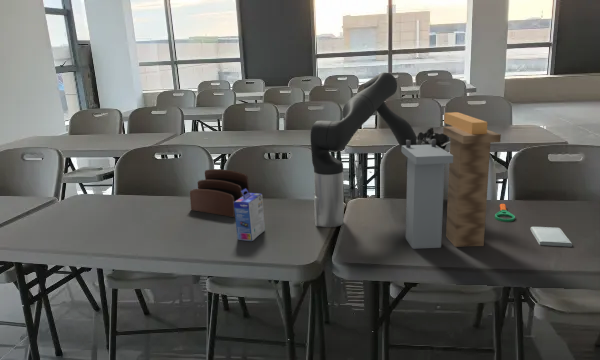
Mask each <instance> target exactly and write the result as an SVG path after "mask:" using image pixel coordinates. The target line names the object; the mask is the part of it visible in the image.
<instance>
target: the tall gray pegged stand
mask: <svg viewBox="0 0 600 360" xmlns="http://www.w3.org/2000/svg"><path fill="white" fill-rule="evenodd" d="M401 153H402V154H403V155H404V156H405V157H406V158H408V160H407V159H406V160H407V168H406V170H407V171H406V205H405V208H406V209H405V211H406V212H405V240H406V241H407V243H408V244H409V246H410V248H411V249H413V250H414V249H416V250H417V249H440V248H442V235H443V234H442V231H443V212H444V210H443V209H444V186H445V168H446V167H445V165H446V164H449V163H453V155H452V154H450V152H449V151H446V149H445V150H443V149H442V148H440V147H438V146H437V145H436V139H432V143H431V145H411V140H406V145H404V146H402V148H401Z"/></svg>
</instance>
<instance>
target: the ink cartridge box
mask: <svg viewBox="0 0 600 360" xmlns="http://www.w3.org/2000/svg"><path fill="white" fill-rule="evenodd" d="M245 191H246V192H247V194H245V195H244V192H245ZM241 193H242V195H243V196H242V197H241V198H239V199H238V200H236V201H235V202H234V209H235V217H234V218H235V228H236V238H237V240H239V241H247V242H252V241H255V239H257V238H258V237H259V235H261V234H262V233H263V232H265V231H266V229H265V227H266V226H265V216H264V214H265V213H264V203H263V202H264V200H263V193H257V192H250V191H249V192H248V190H247V189H246V188H245V189H244V190H242V191H241Z"/></svg>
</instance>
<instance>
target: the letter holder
mask: <svg viewBox="0 0 600 360" xmlns="http://www.w3.org/2000/svg"><path fill="white" fill-rule="evenodd" d="M249 184H250V183H249V176H248V175H247V174H246V173H243V172H241V171H235V170H229V169H218V168H217V169H216V168H215V169H214V168H213V169H212V168H211V169H206V170H204V179H200V180H199V179H198V181H197V188H192V189H190V191H189V201H190V210H191V211H193V212H194V211H195V212H200V213H207V214H213V215H219V216H225V217H231V218H235V209H234V202H235V201H236V200H238V199H239V198H241V197H242V196H243V195H242V193H241V191H242V190H244V189H245V188H246V189H247V190H248V192H249V193H250V186H249ZM245 194H247V192H246V191H245V192H244V195H245Z"/></svg>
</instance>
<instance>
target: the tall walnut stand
mask: <svg viewBox="0 0 600 360" xmlns="http://www.w3.org/2000/svg"><path fill="white" fill-rule="evenodd" d="M442 132H443V134H445V135H447V136H448V137H451V139H450V143H449V153H450V154H452V155H453V163H448V186H447V205H446V207H447V208H446V209H447V210H446V225H445V226H446V229H445V230H446V231H445V237H446V238H447V239H448V240H449V242H450V243H451V244H452V245H453V246H454V247H456V248H457V247H458V248H460V247H484V244H485V231H486V230H485V229H486V215H487V214H486V213H487V200H488V185H489V174H490V173H489V172H490V171H489V170H490V156H491V144H492V143H501V138H502V135H501V134H500V133H498V132H495V131H493V130H489V129H487V134H470V133H467V132H465V131H463V130H460V129H458V128H456V127H453V126H443V131H442Z"/></svg>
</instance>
